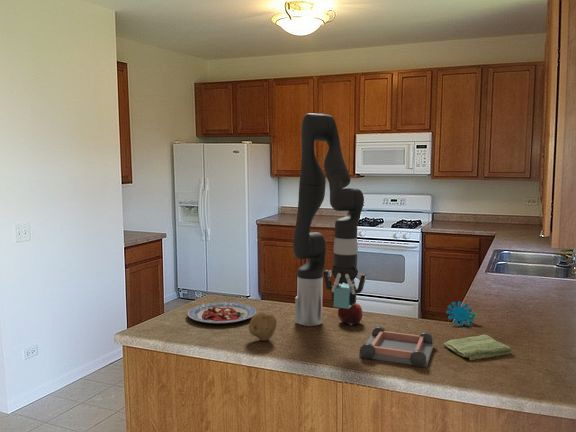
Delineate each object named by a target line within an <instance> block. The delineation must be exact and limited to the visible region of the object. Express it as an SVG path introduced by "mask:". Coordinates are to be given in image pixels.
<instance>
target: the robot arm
mask: <svg viewBox="0 0 576 432" xmlns="http://www.w3.org/2000/svg"><path fill="white" fill-rule="evenodd" d="M300 132H301V133H300V135H301V137H300V138H301V159H300V160H301V161H300V162H301V163H300V175H299V184H298V185H299V186H298V202H297V203H298V204H297V212H296V214H297V215H296V221H295V228H294V233H293V239H292V250H293V254H294V256H295V258H297V259H299V260H307V261H306V262H305V263H304V264H303V265H301V266H300V267H298V268H297V275H296V277H297V278H296V279H297V284H296V287H297V289H296V291H297V292H296V295H297V296H295V299H294V307H295V308H294V311H295V312H294V323H295V324H298V325H301V326H306V327H314V326H319V325H321V324H322V323H323V294H324V293H323V287H324V286H323V284H325V287H326V289H327V290H330V291H331V301H332V302H334V288H335V287H337V286H339V284H345V285H349V288H350V289H351V293H352V294H351V306H353V305H354V304H355V303H357V294H360V293H362V292H363V290H364V286H365V283H366V279H367V273H361V272H359V270H358V251H359V249H358V248H359V247H358V245H359V244H358V225H359V221H360V217H361V214H362V211H363V209H364V208H363V207H364V203H365V196H364V193H363V192H362V190H361V189H359V188H355V187H353V188H349V187H348V186H349V185H350V183H351V176H350V173H349V170H348V168H347V167H348V166H347V165H346V162H345V160H344V157H343V153H342V147H341V142H340V136H339V131H338V127H337V122H336V120H335V118H334V117H333V116H332V115H330V114H326V113H325V114H324V113H306V114H305V115H304V116H303V118H302V122H301V131H300ZM315 142H326V144H327V146H328V150H327V153H326V155H325V158H324V162H323V169H324V171H323V169H322V167H321V166H320V163H319V161H318V159H317V157H316V153H315ZM325 176H326V177H325ZM326 178H327V179H326ZM327 181H328V182H327ZM326 183H328V185H329V205H330V207H331V209H333V210H334V211H336V212H347V214H346V215H345V216H344V217H340V218H338V219H336V220H335V222H334V240H333V258H332V259H333V261H332V262H333V263H332V268H331V269H329V270H328V269H326V270H325V267H326V253H327V244H326V239H325V237H324V235H323V234H322V232H318V231H317V232H315V231H314V232H311V227H312V222H313V220H314V217H315V216H316V214H317V212H318V211H319V210H320V208H321V206H322V204H323V202H324V200H325V195H326ZM346 187H348V188H346ZM332 275H333V277H334V279H335V280H334V282H333V283H332V280H331V277H332ZM357 277H358V281H359V283H358V286H356V282H355V279H356V278H357ZM323 279H324V281H323ZM323 282H324V283H323Z"/></svg>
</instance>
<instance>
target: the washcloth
mask: <svg viewBox="0 0 576 432" xmlns="http://www.w3.org/2000/svg"><path fill="white" fill-rule="evenodd" d="M442 345H443V346H444V347H445V348H446V349H448V348H449V350H450V349H451V350H450V351H452V352H453V353H455V354H457V355H458V356H461V357H463V358H465V357H466V358H465V359H467V358H468V359H467V360H469V361H474V360H475V361H477V360H481V359H482V358H484V359H488V358H494V357H495V356H496V357H500V356H507V355H510V354H511V353H512V348H511V347H510V346H508V345H507V344H504V343H502V342H501V341H500V342H499V341H497V340H495V339H494V337H491V336H489V335H488V334H480V335H477V336H469V337H464V338H463V337H462V338H456V339H450V340H449V339H448V341H446V342H445V341H444V343H443V344H442ZM476 359H477V360H476ZM482 360H483V359H482Z"/></svg>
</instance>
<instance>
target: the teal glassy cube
mask: <svg viewBox="0 0 576 432" xmlns="http://www.w3.org/2000/svg"><path fill="white" fill-rule="evenodd" d="M351 294H352V293H351V289H350V288H349V285H348V284H345V283H340V284H339V286H337V287H335V288H334V301H333V308H338V309H339V308H347V309H349V308H350V307H351Z"/></svg>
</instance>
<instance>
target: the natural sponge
mask: <svg viewBox="0 0 576 432" xmlns="http://www.w3.org/2000/svg"><path fill="white" fill-rule="evenodd" d="M277 323H278V322H277V318H276V317H275V315H274V314H273V313H271V312H270V311H266V310H260V311H258V312H256V314H255V315H254V316H252V317H251V319H250V321H249V324H248V331H249V333H250V335H252V336H254V337H256V338H258V339H259V340H260V341H262V342H267V341H268V340H269V339H271V338H272V337H273V336H274V333H275V331H276V328H277Z"/></svg>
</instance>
